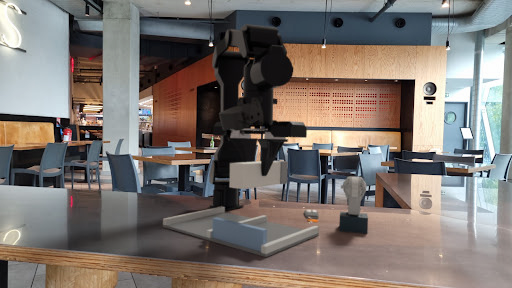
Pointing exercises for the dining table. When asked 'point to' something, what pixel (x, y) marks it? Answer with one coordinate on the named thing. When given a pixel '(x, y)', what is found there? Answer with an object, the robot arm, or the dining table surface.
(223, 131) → the robot arm
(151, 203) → the dining table surface
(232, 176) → the cream rectangular block
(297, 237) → the grey rimmed tray
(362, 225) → the bust statue
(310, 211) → the key chain
